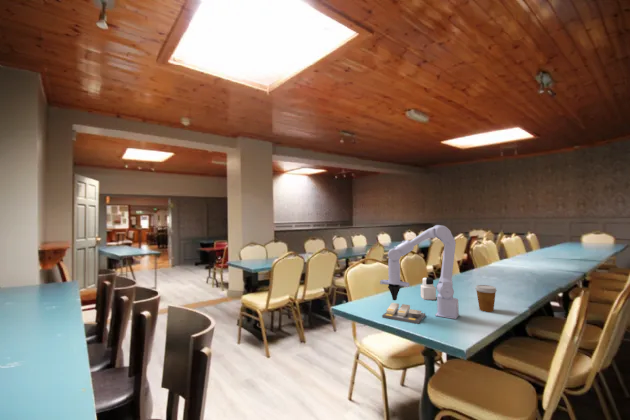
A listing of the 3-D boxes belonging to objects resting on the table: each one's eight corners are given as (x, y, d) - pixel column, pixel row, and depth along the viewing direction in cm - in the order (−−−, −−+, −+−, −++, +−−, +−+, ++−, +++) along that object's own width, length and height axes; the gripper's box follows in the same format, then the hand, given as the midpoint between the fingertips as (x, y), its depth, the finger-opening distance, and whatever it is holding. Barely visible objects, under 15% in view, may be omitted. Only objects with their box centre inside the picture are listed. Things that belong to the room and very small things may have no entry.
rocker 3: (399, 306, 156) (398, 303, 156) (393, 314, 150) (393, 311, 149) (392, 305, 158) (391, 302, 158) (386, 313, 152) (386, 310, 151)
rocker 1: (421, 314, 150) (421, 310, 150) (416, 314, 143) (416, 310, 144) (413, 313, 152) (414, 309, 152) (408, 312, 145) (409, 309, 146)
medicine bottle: (432, 296, 187) (432, 276, 187) (436, 299, 180) (435, 279, 180) (420, 296, 187) (420, 276, 188) (423, 299, 180) (423, 279, 181)
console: (425, 315, 151) (425, 311, 151) (418, 323, 141) (417, 319, 141) (391, 310, 161) (391, 306, 161) (382, 317, 150) (382, 313, 150)
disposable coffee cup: (499, 309, 159) (498, 286, 159) (494, 314, 152) (493, 289, 152) (479, 306, 165) (478, 283, 166) (473, 310, 159) (472, 287, 159)
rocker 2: (410, 308, 153) (409, 304, 153) (405, 316, 147) (404, 313, 146) (402, 306, 155) (402, 303, 155) (397, 315, 149) (397, 312, 148)
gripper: (411, 272, 156) (411, 299, 156) (383, 270, 164) (383, 296, 164) (406, 275, 150) (407, 303, 150) (378, 272, 158) (378, 299, 158)
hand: (394, 299), depth 156 cm, fingers closed
